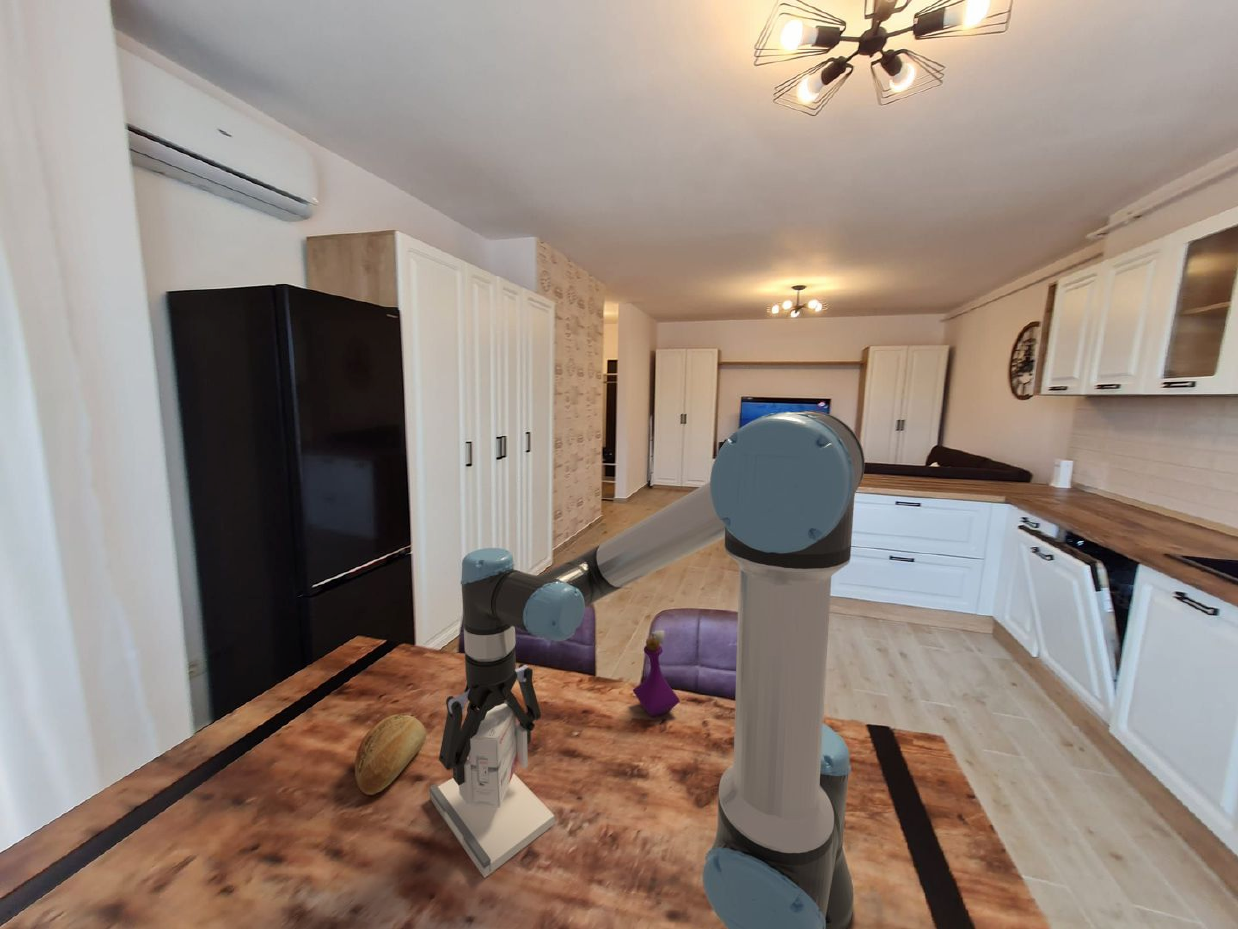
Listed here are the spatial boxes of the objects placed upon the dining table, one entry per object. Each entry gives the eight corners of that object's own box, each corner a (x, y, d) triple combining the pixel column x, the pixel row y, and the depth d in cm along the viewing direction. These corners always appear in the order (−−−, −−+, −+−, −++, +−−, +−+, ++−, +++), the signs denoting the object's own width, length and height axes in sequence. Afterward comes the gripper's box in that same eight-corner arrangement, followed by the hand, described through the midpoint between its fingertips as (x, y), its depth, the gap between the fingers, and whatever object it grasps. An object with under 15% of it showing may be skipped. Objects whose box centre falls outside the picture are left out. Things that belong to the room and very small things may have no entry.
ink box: (490, 763, 81) (488, 699, 79) (518, 765, 80) (516, 702, 78) (469, 806, 72) (465, 736, 70) (500, 810, 71) (497, 739, 70)
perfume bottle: (632, 703, 103) (632, 626, 100) (662, 694, 106) (663, 619, 103) (648, 725, 96) (649, 642, 93) (679, 715, 99) (682, 634, 96)
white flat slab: (554, 824, 74) (554, 811, 73) (483, 879, 65) (482, 864, 65) (495, 760, 86) (494, 749, 86) (429, 800, 78) (428, 787, 78)
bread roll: (338, 799, 78) (334, 755, 77) (391, 735, 93) (388, 698, 92) (392, 805, 77) (389, 761, 76) (437, 739, 92) (435, 702, 91)
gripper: (535, 618, 83) (538, 733, 86) (407, 667, 68) (416, 806, 71) (562, 633, 77) (563, 756, 81) (429, 691, 62) (438, 839, 66)
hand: (494, 779), depth 76 cm, fingers closed on ink box, 9 cm apart
